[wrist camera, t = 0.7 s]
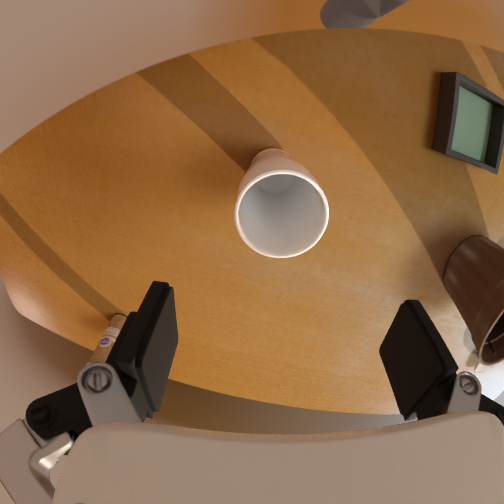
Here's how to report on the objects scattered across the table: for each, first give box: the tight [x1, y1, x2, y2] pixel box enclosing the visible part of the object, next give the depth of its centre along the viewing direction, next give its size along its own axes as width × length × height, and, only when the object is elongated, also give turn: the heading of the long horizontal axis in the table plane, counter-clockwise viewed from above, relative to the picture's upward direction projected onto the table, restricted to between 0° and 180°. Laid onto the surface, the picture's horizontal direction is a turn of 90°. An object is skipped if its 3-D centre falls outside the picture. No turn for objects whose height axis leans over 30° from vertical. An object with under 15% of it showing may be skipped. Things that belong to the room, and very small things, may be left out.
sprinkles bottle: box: [87, 314, 127, 365], centre depth 40 cm, size 5×5×13 cm
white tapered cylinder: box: [234, 148, 329, 258], centre depth 26 cm, size 7×7×15 cm
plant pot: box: [444, 236, 504, 366], centre depth 31 cm, size 16×16×16 cm
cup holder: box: [431, 72, 504, 175], centre depth 25 cm, size 11×11×4 cm
